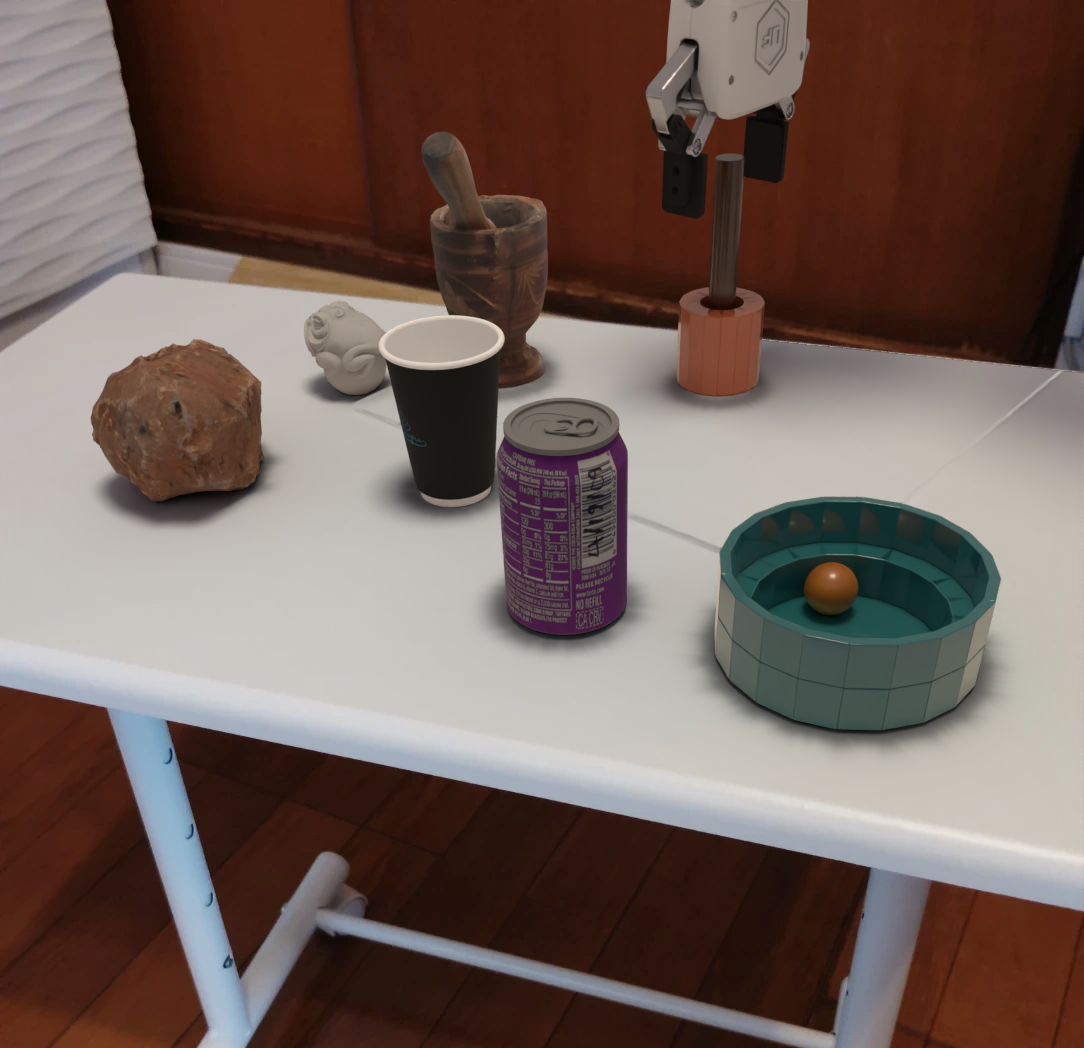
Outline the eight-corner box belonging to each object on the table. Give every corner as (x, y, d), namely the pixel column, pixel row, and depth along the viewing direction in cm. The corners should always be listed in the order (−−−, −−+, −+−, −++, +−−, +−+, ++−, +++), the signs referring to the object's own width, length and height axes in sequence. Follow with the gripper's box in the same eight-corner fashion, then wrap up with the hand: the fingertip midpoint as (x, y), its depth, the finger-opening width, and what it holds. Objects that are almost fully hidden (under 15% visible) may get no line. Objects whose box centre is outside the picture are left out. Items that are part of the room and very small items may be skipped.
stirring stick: (714, 370, 93) (726, 151, 82) (735, 377, 92) (750, 155, 81) (699, 379, 92) (709, 158, 81) (720, 386, 91) (734, 162, 80)
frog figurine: (339, 370, 98) (326, 286, 94) (412, 382, 96) (402, 296, 91) (298, 401, 94) (282, 314, 89) (374, 414, 92) (361, 326, 87)
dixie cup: (375, 507, 81) (352, 350, 73) (441, 457, 86) (425, 306, 79) (473, 534, 77) (458, 373, 70) (535, 481, 82) (528, 326, 75)
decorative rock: (234, 536, 78) (200, 394, 72) (80, 524, 80) (33, 385, 74) (304, 444, 88) (279, 311, 82) (164, 435, 90) (130, 306, 84)
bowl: (800, 559, 74) (810, 472, 70) (1021, 642, 66) (1046, 550, 62) (663, 669, 66) (666, 577, 62) (896, 778, 58) (916, 682, 54)
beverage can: (633, 580, 72) (635, 396, 65) (618, 649, 67) (619, 457, 59) (519, 573, 74) (508, 391, 66) (496, 640, 68) (481, 450, 60)
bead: (818, 590, 70) (824, 546, 68) (864, 607, 68) (871, 563, 66) (791, 613, 68) (796, 569, 66) (837, 632, 67) (844, 587, 65)
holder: (706, 367, 96) (711, 280, 91) (772, 386, 92) (780, 297, 88) (660, 394, 92) (663, 305, 88) (727, 415, 89) (733, 324, 84)
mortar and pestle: (549, 421, 89) (537, 135, 77) (435, 423, 90) (405, 139, 77) (554, 358, 98) (545, 92, 85) (451, 360, 99) (426, 96, 86)
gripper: (713, -78, 65) (696, 240, 76) (870, -111, 75) (834, 175, 86) (606, -86, 69) (605, 218, 80) (769, -116, 79) (747, 158, 90)
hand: (723, 196), depth 83 cm, fingers open, 9 cm apart
